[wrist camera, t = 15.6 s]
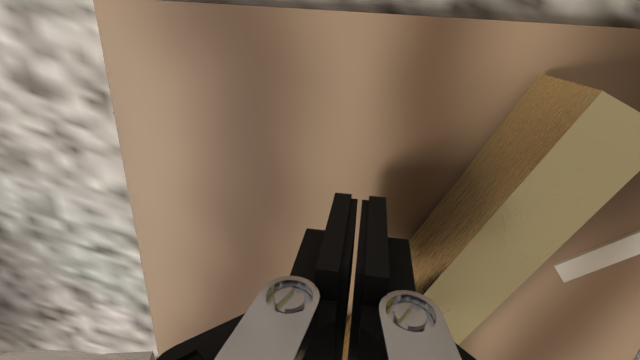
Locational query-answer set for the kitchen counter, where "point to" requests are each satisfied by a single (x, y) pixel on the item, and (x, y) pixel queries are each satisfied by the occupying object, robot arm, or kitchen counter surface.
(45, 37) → the kitchen counter surface
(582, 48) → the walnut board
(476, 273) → the lever
